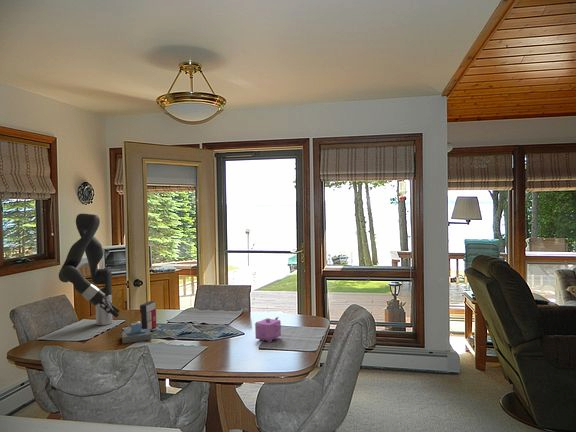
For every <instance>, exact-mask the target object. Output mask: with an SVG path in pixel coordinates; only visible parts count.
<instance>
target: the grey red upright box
mask: <svg viewBox="0 0 576 432" xmlns="http://www.w3.org/2000/svg"><path fill="white" fill-rule="evenodd" d="M139 312H140V313H141V314H140V316H141V317H140V318H141V321H140V322H141V329H151V330H153V329H154V327H155V328H156V327H157V310H156V301H154V300H153V301H152V300H151V301H147V302H145V303H143V304H140V305H139ZM152 328H153V329H152Z"/></svg>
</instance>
